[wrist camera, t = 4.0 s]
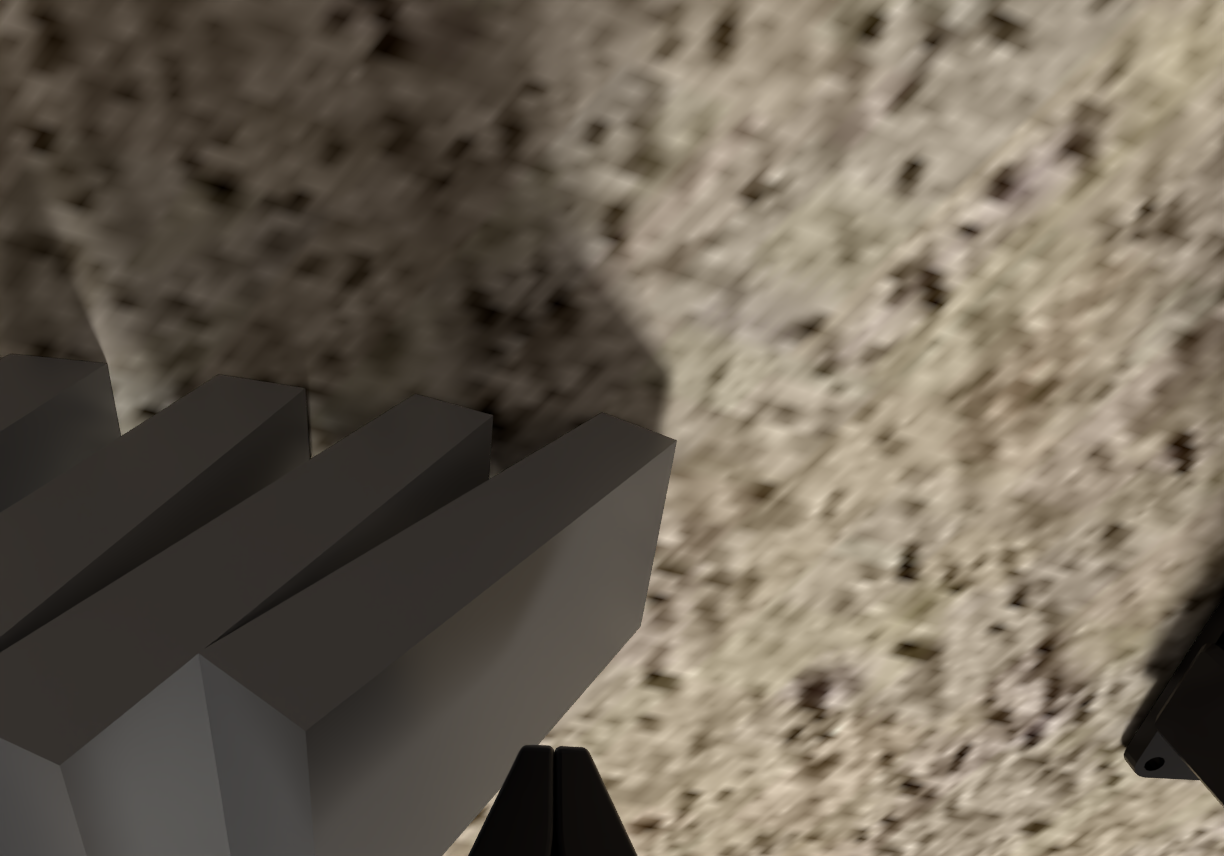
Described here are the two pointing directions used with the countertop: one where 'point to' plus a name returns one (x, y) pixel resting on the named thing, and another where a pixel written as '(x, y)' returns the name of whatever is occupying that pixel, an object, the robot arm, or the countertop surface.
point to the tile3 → (144, 495)
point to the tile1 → (436, 654)
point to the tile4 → (50, 420)
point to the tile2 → (198, 642)
